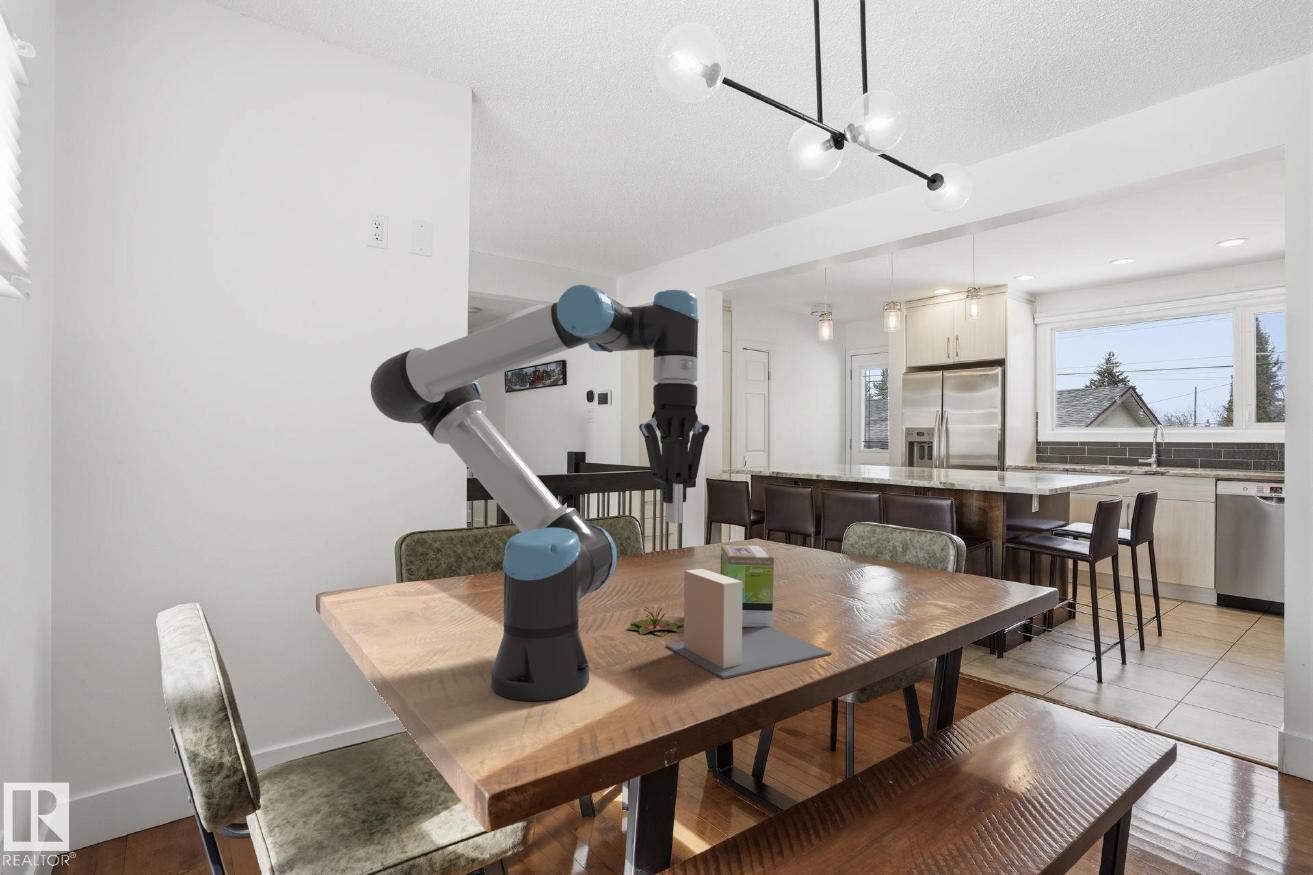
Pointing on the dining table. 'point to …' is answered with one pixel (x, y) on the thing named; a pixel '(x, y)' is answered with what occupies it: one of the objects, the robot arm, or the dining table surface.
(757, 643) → the mat
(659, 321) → the robot arm
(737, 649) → the cream rectangular block
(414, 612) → the dining table surface
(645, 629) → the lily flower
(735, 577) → the tea box
